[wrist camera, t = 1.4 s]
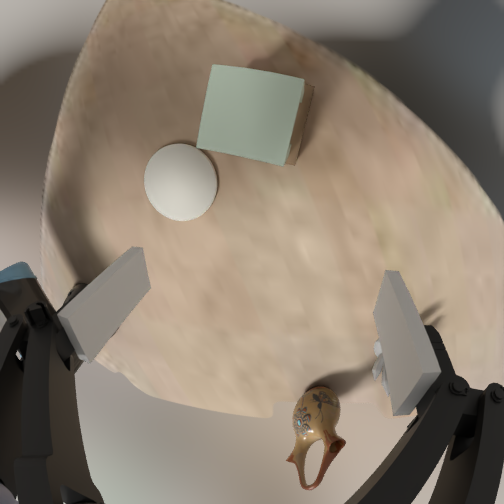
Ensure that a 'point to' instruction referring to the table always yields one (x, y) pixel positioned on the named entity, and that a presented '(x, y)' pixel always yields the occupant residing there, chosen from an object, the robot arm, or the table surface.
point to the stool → (250, 113)
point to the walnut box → (300, 124)
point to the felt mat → (180, 182)
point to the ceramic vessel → (316, 430)
